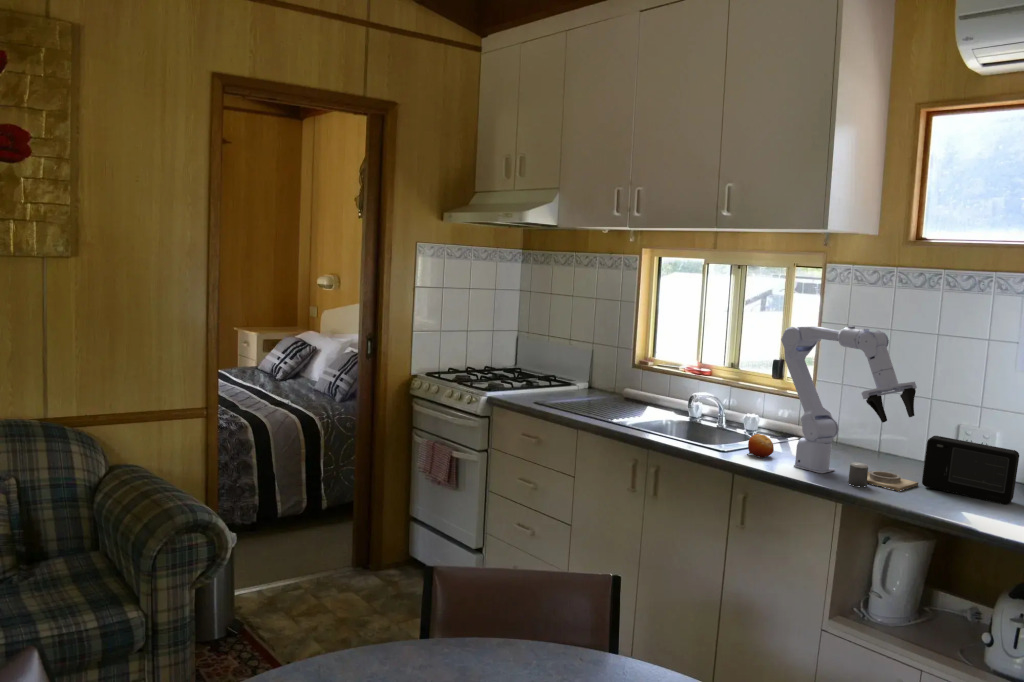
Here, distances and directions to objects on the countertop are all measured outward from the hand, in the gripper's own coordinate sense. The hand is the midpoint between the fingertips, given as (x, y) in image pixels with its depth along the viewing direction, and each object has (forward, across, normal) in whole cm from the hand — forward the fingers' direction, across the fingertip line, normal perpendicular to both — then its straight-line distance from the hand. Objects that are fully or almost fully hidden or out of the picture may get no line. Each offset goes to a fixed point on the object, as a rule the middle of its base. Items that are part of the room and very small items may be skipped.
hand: (898, 419), depth 233 cm
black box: (+23, +17, +11) cm, 31 cm away
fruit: (-1, -29, +39) cm, 48 cm away
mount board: (+15, -2, +17) cm, 23 cm away
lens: (+15, -12, +12) cm, 22 cm away
